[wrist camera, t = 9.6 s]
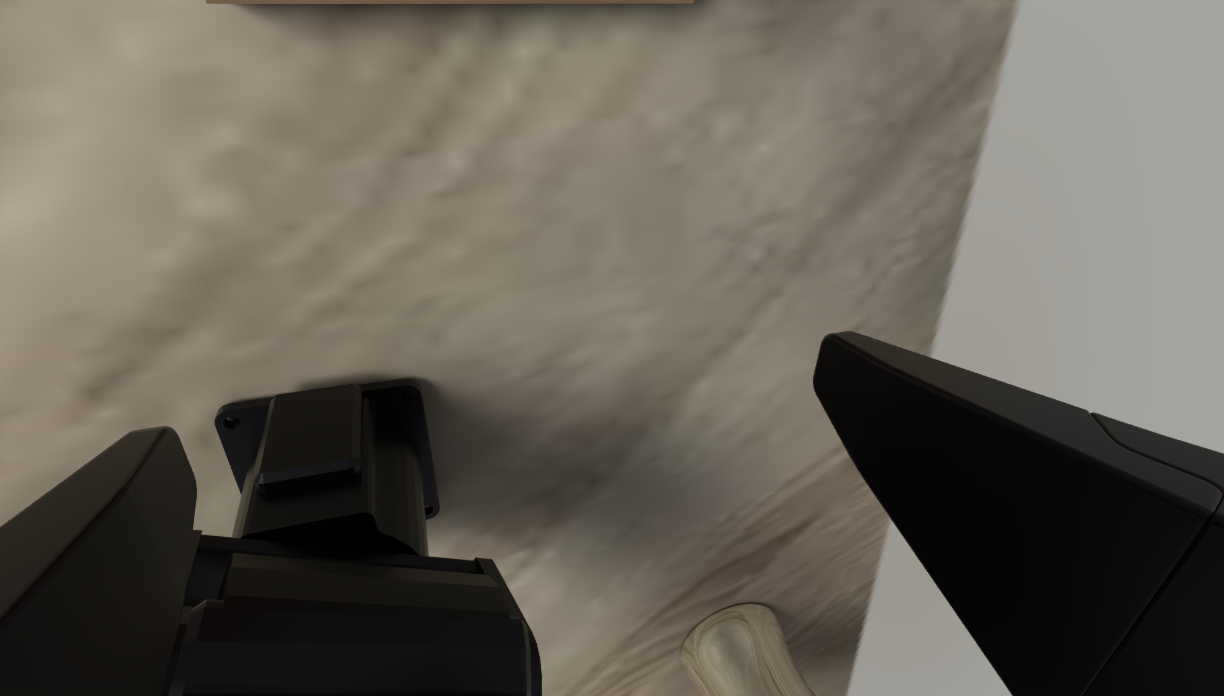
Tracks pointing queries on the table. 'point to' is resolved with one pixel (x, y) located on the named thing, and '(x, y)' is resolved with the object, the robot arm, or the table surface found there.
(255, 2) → the square wooden board
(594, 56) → the table surface
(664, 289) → the table surface
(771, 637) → the beer glass
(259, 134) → the table surface
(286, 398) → the robot arm
